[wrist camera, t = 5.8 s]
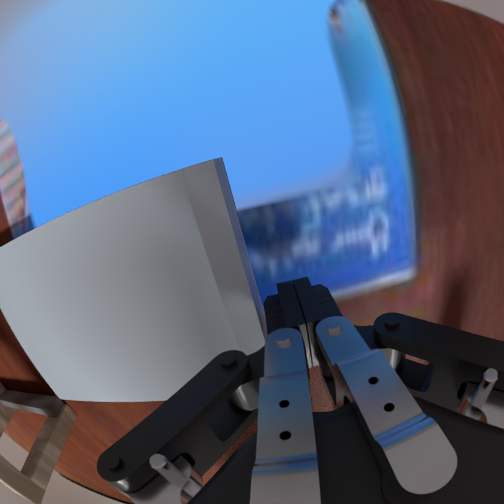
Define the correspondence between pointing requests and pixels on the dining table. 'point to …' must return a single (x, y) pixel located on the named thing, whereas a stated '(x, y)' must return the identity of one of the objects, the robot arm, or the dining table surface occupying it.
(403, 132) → the dining table surface
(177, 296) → the slab
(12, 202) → the dining table surface
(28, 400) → the small table
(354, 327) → the robot arm
